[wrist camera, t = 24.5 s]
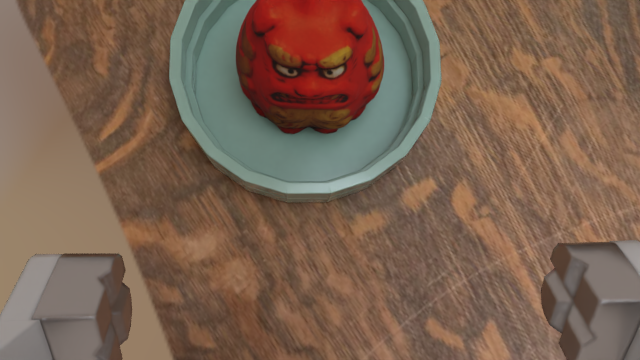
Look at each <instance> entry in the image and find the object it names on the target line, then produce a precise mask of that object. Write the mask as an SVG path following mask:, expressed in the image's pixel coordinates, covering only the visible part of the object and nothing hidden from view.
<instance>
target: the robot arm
mask: <svg viewBox="0 0 640 360" xmlns="http://www.w3.org/2000/svg"><path fill="white" fill-rule="evenodd" d="M550 260H551V262H552V264H553V265H554V267H555V268H554V269H553V270H552V271H551V272H550V273H548V274H547V275H546V276H545V277H544V281H543V284H542V288H541V304H542V308H543V311H544V315H545V317H546V319H547V321H548V323H549V325H550V326H552V327H553V328H555V329H556V330H557V331H559V332H560V333H562V335H561V338H560V340H559V345H560V347H561V349H562V351H563V353H564V355H565V357H566V359H567V360H640V242H638V241H637V240H626V241H610V242H585V243H558V244H557V246H556V247H555V248H554V249H553V252H552V255H551V258H550ZM124 273H125V267H124V262H123V258H122V256H121V255H119V254H35V255H34V256H32V257H31V258H30V259H29V260H28V261H27V263H26V265H25V268H24V269H23V271H22V273H21V275H20V277H19V279H18V282H17V283H16V285H15V287H14V289H13V291H12V293H11V295H10V297H9V299H8V300H7V303H6V305H5V306H4V309H3V310H2V312H1V314H0V360H122V354H121V350H120V345H121V344H122V343H123V342H124V341H125V340H127V339H128V335H129V331H130V327H131V316H132V302H131V294H130V289H129V288H128V287H127V286H126V285H125V284H124V283H123V282H122V280H123V277H124Z"/></svg>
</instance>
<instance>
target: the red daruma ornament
mask: <svg viewBox="0 0 640 360" xmlns="http://www.w3.org/2000/svg"><path fill="white" fill-rule="evenodd" d="M236 68H237V73H238V76H239V82H240V85H241V88H242V91H243V93H244V94H245V95H246V97H247V98H248V99H249V100H250V101H251V103H252V106H253V107H254V109H255V110H256V112H257V113H258V114H259V115H260V116H263V117H265V118H268V119H269V121H271V122H272V123H274V124H275V125H277V127H278V128H279V129H280V130H281V131H282V132H284V133H287V134H295V133H298V132H300V131H302V130H303V129H305V128H307V127H310V128H312V129H313V130H315V131H317V132H320V133H324V134H329V133H334V132H337V130H338V129H339V128H342V127H344V126H346V125H347V124H348V123H349V122H350V121H351V120H355V119H356V118H358V117H359V116H360V115H361V114H362V112H363V111H364V110H365V107H366V105H367V104H368V103H369V102H370V101H371V100H372V99H374V97H375V96H376V94H377V93H378V91H379V88H380V84H381V81H382V78H383V73H384V55H383V49H382V44H381V40H380V37H379V33H378V30H377V28H376V26H375V23H374V21H373V19H372V17H371V15H370V14H369V11H368V10H367V8H366V7H365V6H364V4H363V2H362V0H256V2H255V3H254V4H253V5H252V7H251V8H250V9H249V11H248V13H247V15H246V17H245V19H244V21H243V23H242V25H241V28H240V32H239V35H238V40H237V45H236Z"/></svg>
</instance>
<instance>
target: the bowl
mask: <svg viewBox="0 0 640 360" xmlns="http://www.w3.org/2000/svg"><path fill="white" fill-rule="evenodd" d="M255 2H256V0H186V1H185V2H184V4H183V7H182V10H181V12H180V15H179V17H178V20H177V23H176V25H175V28H174V30H173V33H172V36H171V39H170V67H169V80H170V84H171V87H172V91H173V94H174V97H175V100H176V103H177V107H178V110H179V113H180V116H181V119H182V121H183V123H184V124H185V126H186V128H187V129H188V131H189V133H190V134H191V136H192V137H193V139H194V140H195V141H196V143H197V144H198V145H199V147H200V148H201V150H202V151H203V152H204V154H205V155H206V156H207V158H208V159H209V160H210V162H211V163H212V165H213V166H214V167H215V168H217V169H218V170H219V171H221V172H222V173H224V174H225V175H226V176H228V177H229V178H231V179H232V180H233V181H235V182H236V183H238V184H239V185H240V186H242V187H243V188H245V189H246V190H248V191H251V192H254V193H258V194H261V195H264V196H267V197H270V198H273V199H277V200H280V201H283V202H326V201H327V202H329V201H332V200H335V199H338V198H341V197H344V196H347V195H350V194H353V193H356V192H359V191H362V190H364V189H366V188H368V187H369V186H370V185H372V184H373V183H374V182H376V181H377V180H378V179H380V178H381V177H382V176H384V175H385V174H387V173H388V172H389V171H391V170H392V169H393V168H395V167H396V166H397V165H398V164H399V162H400V161H401V160H402V159H403V158H404V157H405V156H406V155H407V154H408V152H409V151H410V149H411V148H412V146H413V145H414V143H415V142H416V141H417V139H418V138H419V136H420V135H421V133H422V132H423V131H424V129H425V128H426V126H427V125H428V123H429V122H430V120H431V117H432V113H433V110H434V106H435V103H436V99H437V96H438V92H439V89H440V85H441V62H440V43H439V39H438V36H437V34H436V31H435V29H434V26H433V24H432V21H431V19H430V16H429V13H428V11H427V8H426V6H425V4H424V2H423V1H422V0H362V2H363V4H364V6H365V7H366V8H367V10H368V11H369V14H370V15H371V17H372V19H373V21H374V23H375V26H376V28H377V30H378V33H379V37H380V40H381V44H382V49H383V55H384V73H383V78H382V81H381V84H380V88H379V91H378V93H377V94H376V96H375V97H374V99H372V100H371V101H370V102H369V103H368V104H367V105H366V107H365V110H364V111H363V112H362V114H361V115H360V116H359V117H358V118H356V119H355V120H351V121H350V122H349V123H348V124H347V125H346V126H344V127H342V128H339V129H338V130H337V132H334V133H329V134H324V133H320V132H317V131H315V130H313V129H312V128H310V127H307V128H305V129H303V130H302V131H300V132H298V133H295V134H287V133H284V132H282V131H281V130H280V129H279V128H278V127H277V125H275V124H274V123H272V122H271V121H269V119H268V118H265V117H263V116H260V115H259V114H258V113H257V112H256V110H255V109H254V107H253V106H252V103H251V101H250V100H249V99H248V98H247V97H246V95H245V94H244V93H243V91H242V88H241V85H240V82H239V76H238V73H237V68H236V45H237V40H238V35H239V32H240V28H241V25H242V23H243V21H244V19H245V17H246V15H247V13H248V11H249V9H250V8H251V7H252V5H253V4H254V3H255Z"/></svg>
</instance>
